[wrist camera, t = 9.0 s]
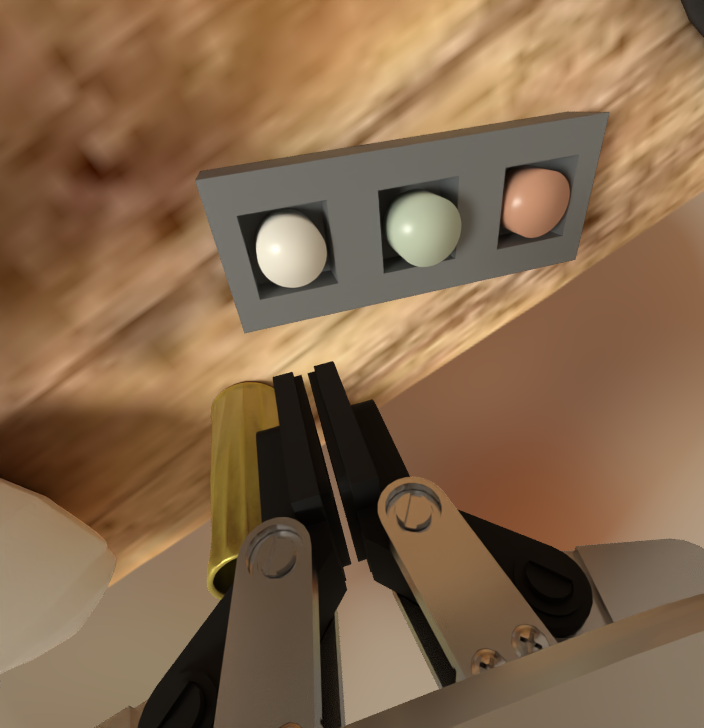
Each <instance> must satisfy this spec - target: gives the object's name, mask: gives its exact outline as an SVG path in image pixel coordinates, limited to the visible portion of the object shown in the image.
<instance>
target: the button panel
mask: <svg viewBox="0 0 704 728" xmlns="http://www.w3.org/2000/svg"><path fill="white" fill-rule="evenodd" d="M608 117H609V112H564V113H558V114H552V115H545V116H539V117H533V118H527V119H521V120H514V121H508V122H502V123H496V124H490V125H483V126H477V127H471V128H465V129H459V130H453V131H446V132H440V133H434V134H428V135H422V136H415V137H409V138H403V139H397V140H391V141H385V142H378V143H372V144H366V145H360V146H354V147H347V148H341V149H335V150H329V151H323V152H317V153H310V154H304V155H298V156H292V157H286V158H279V159H273V160H267V161H261V162H255V163H249V164H242V165H236V166H230V167H224V168H218V169H211V170H205V171H200V173H199V174H198V176H197V178H196V180H195V182H196V185H197V188H198V191H199V194H200V197H201V200H202V203H203V206H204V209H205V213H206V216H207V219H208V222H209V225H210V228H211V231H212V234H213V237H214V240H215V243H216V246H217V250H218V253H219V256H220V259H221V262H222V265H223V268H224V271H225V274H226V277H227V280H228V284H229V287H230V290H231V293H232V296H233V299H234V302H235V305H236V308H237V311H238V314H239V317H240V321H241V324H242V327H243V330H244V333H248V332H253V331H257V330H262V329H266V328H271V327H275V326H280V325H284V324H289V323H293V322H298V321H302V320H307V319H311V318H316V317H320V316H325V315H329V314H334V313H338V312H343V311H347V310H352V309H356V308H361V307H365V306H370V305H374V304H379V303H383V302H387V301H392V300H396V299H401V298H405V297H410V296H414V295H419V294H423V293H428V292H432V291H437V290H441V289H446V288H450V287H455V286H459V285H464V284H468V283H473V282H477V281H482V280H486V279H491V278H495V277H500V276H504V275H509V274H513V273H518V272H522V271H527V270H531V269H536V268H540V267H545V266H549V265H554V264H558V263H563V262H567V261H572V260H575V259H576V255H577V250H578V246H579V242H580V238H581V233H582V229H583V225H584V220H585V216H586V212H587V207H588V203H589V199H590V194H591V190H592V186H593V181H594V177H595V173H596V168H597V164H598V160H599V155H600V151H601V147H602V142H603V138H604V134H605V130H606V125H607V121H608ZM518 166H532V167H537V168H542V169H547V170H552V171H557V172H559V173H561V174H562V175H563V176H564V177H565V178H566V180H567V181H568V184H569V189H570V196H569V202H568V205H567V208H566V211H565V213H564V214H563V216H562V218H561V219H560V221H559V222H558V223H557V224H556V225H555V226H554V227H553V228H552V229H551V230H550V231H549V232H547V233H545V234H544V235H541V236H539V237H535V238H527V237H524V236H521V235H519V234H517V233H515V232H512V231H510V230H508V229H506V228H503V227H501V226H499V225H500V215H501V206H502V197H503V187H504V178H505V174H506V173H507V172H508V171H510V170H511V169H513V168H515V167H518ZM411 189H423V190H426V191H428V192H431V193H433V194H435V195H438V196H440V197H443V198H445V199H447V200H449V201H450V202H451V203H453V204H454V205H455V207H456V208H457V210H458V212H459V214H460V218H461V233H460V237H459V240H458V243H457V245H456V246H455V248H454V250H453V251H452V252H451V254H450V255H449V256H448V257H447V258H445V259H444V260H443V261H441V262H440V263H438V264H436V265H433V266H429V267H418V266H414V265H412V264H410V263H409V262H407V261H406V260H405V259H404V258H403V257H402V256H401V255H399V254H398V253H397V252H396V251H395V250H394V249H393V248H392V247H390V245H389V244H388V243H387V241H386V239H385V236H384V231H383V221H384V217H385V213H386V211H387V209H388V207H389V205H390V204H391V203H392V201H393V200H394V199H395V198H396V197H397V196H399V195H400V194H402V193H403V192H405V191H408V190H411ZM279 209H294V210H297V211H299V212H302V213H303V214H305V215H306V216H307V217H308V218H309V219H310V220H311V221H312V222H313V223H314V225H315V226H316V228H317V229H318V231H319V232H320V234H321V235H322V237H323V239H324V241H325V244H326V250H327V257H326V262H325V266H324V268H323V270H322V272H321V273H320V274H319V276H318V277H317V278H316V279H315V280H313V281H312V282H310V283H309V284H307V285H304V286H301V287H296V288H289V287H283V286H280V285H277V284H275V283H274V282H272V281H271V280H270V279H268V278H267V277H266V276H265V274H264V273H263V272H262V270H261V268H260V266H259V263H258V259H257V253H256V246H255V235H256V230H257V228H258V226H259V224H260V222H261V221H262V220H263V218H264V217H265V216H267V215H268V214H269V213H271V212H273V211H276V210H279Z"/></svg>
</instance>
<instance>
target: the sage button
mask: <svg viewBox="0 0 704 728" xmlns="http://www.w3.org/2000/svg"><path fill="white" fill-rule="evenodd" d="M383 231H384V236H385V239H386V241H387V243H388V244H389V245H390V247H392V248H393V249H394V250H395V251H396V252H397V253H398V254H399V255H401V256H402V257H403V258H404V259H405V260H406V261H407V262H409V263H410V264H412V265H414V266H418V267H429V266H433V265H436V264H438V263H440V262H441V261H443V260H444V259H445V258H447V257H448V256H449V255H450V254H451V252H452V251H453V250H454V248H455V246H456V245H457V243H458V240H459V237H460V233H461V218H460V214H459V212H458V210H457V208H456V207H455V205H454V204H453V203H451V202H450V201H449V200H447V199H445V198H443V197H440V196H438V195H435V194H433V193H431V192H428V191H426V190H423V189H411V190H408V191H405V192H403V193H402V194H400V195H399V196H397V197H396V198H395V199H394V200H393V201H392V203H391V204H390V205H389V207H388V209H387V211H386V213H385V217H384V221H383Z"/></svg>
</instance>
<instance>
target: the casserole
mask: <svg viewBox="0 0 704 728" xmlns="http://www.w3.org/2000/svg"><path fill="white" fill-rule="evenodd" d="M681 2H682V4H683V6H684V9H685V11H686V14H687V16H688V19H689V21H690V22H691V23H692V24H693V25H694V26H695V28H696V29H697V30H698V31H699V32H700V33H701V35H702V36H703V37H704V0H681Z"/></svg>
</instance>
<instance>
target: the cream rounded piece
mask: <svg viewBox="0 0 704 728" xmlns="http://www.w3.org/2000/svg"><path fill="white" fill-rule="evenodd" d="M255 246H256V253H257V259H258V263H259V266H260V268H261V270H262V272H263V273H264V274H265V276H266V277H267V278H268V279H270V280H271V281H272V282H274V283H275V284H277V285H280V286H283V287H289V288H296V287H301V286H304V285H307V284H309V283H310V282H312V281H313V280H315V279H316V278H317V277H318V276H319V274H320V273H321V272H322V270H323V268H324V266H325V262H326V257H327V250H326V244H325V241H324V239H323V237H322V235H321V234H320V232H319V231H318V229H317V228H316V226H315V225H314V223H313V222H312V221H311V220H310V219H309V218H308V217H307V216H306V215H305V214H303V213H302V212H299V211H297V210H294V209H279V210H276V211H273V212H271V213H269V214H268V215H267V216H265V217H264V218H263V220H262V221H261V222H260V224H259V226H258V228H257V230H256V235H255Z"/></svg>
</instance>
